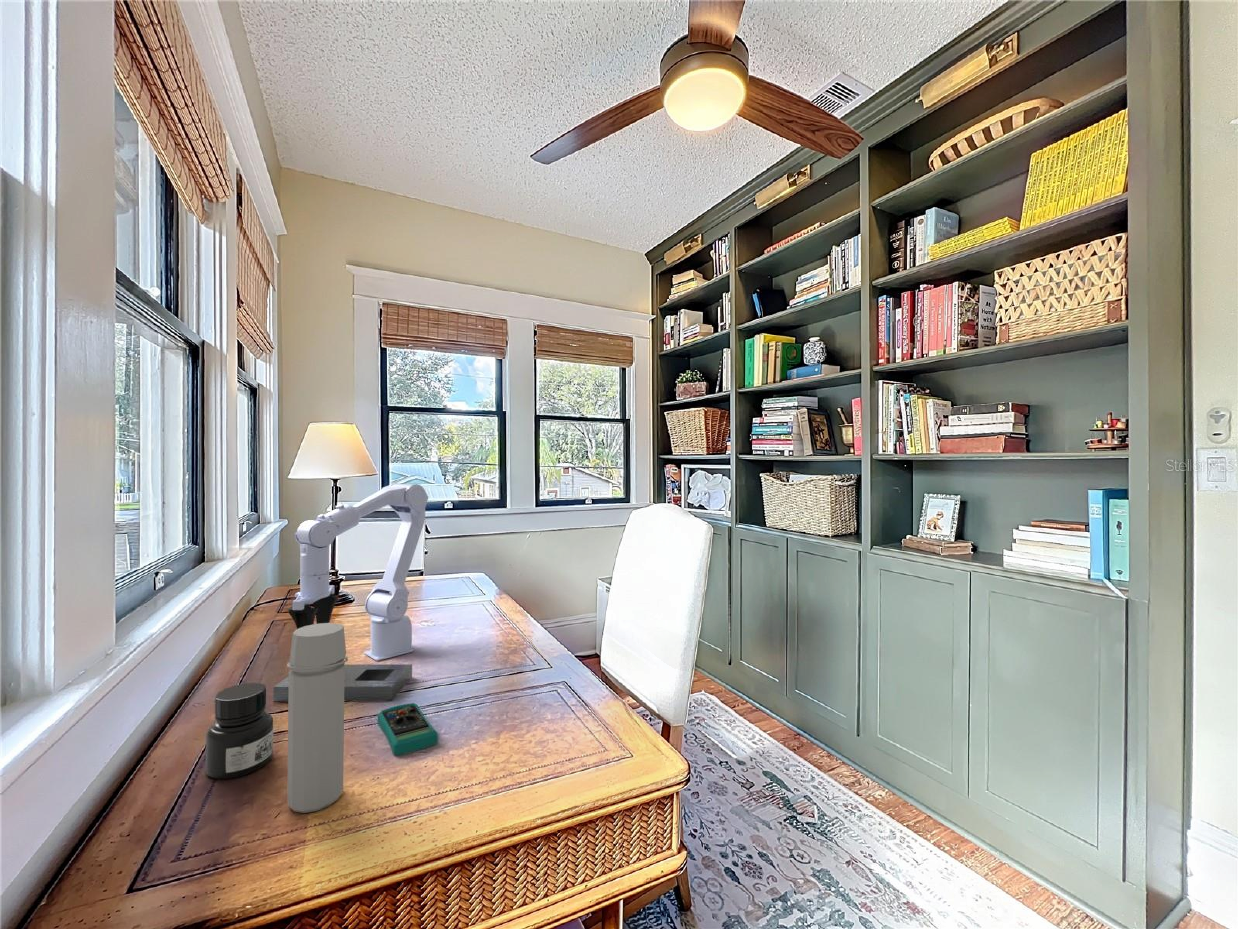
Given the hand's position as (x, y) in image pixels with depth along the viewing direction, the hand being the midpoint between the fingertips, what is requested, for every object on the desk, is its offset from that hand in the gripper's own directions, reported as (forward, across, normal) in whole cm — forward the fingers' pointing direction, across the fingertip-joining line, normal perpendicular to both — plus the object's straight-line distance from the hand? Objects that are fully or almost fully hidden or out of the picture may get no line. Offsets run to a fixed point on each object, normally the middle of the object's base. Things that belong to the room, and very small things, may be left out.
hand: (314, 633), depth 121 cm
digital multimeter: (+11, +25, +29) cm, 40 cm away
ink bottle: (+10, +35, +6) cm, 37 cm away
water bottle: (+10, +43, +22) cm, 50 cm away
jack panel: (+10, +6, +10) cm, 15 cm away
